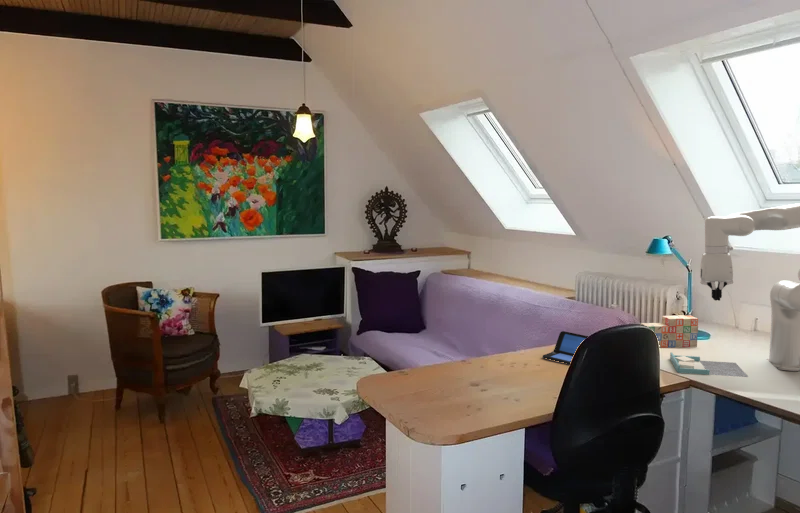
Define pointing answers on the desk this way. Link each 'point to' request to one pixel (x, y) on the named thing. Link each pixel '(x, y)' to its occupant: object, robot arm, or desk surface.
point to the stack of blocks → (676, 331)
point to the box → (687, 370)
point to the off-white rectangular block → (686, 365)
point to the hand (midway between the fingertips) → (716, 299)
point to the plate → (723, 368)
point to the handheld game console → (565, 347)
